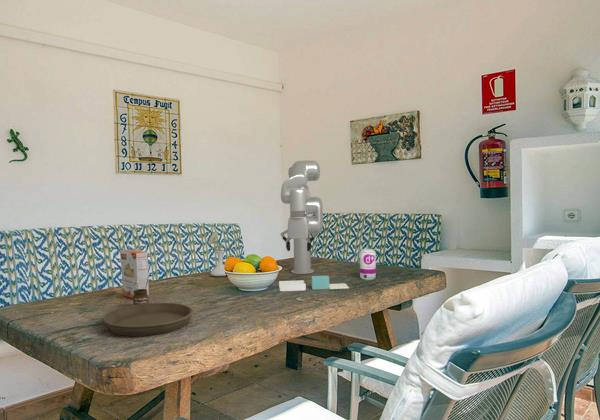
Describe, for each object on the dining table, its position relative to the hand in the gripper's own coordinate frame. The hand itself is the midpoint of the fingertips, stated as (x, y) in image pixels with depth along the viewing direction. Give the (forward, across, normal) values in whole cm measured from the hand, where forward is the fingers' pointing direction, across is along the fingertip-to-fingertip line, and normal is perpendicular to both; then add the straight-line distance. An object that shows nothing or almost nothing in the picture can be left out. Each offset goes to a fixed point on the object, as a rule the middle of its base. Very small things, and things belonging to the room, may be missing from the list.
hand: (298, 250), depth 228 cm
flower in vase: (+18, +51, -26) cm, 60 cm away
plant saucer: (+19, +40, +67) cm, 80 cm away
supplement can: (+18, -30, -30) cm, 46 cm away
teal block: (+18, -10, -3) cm, 21 cm away
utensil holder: (+18, +57, +44) cm, 74 cm away
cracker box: (+18, +69, +28) cm, 77 cm away
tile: (+18, -17, -7) cm, 26 cm away
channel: (+18, +3, +1) cm, 18 cm away
